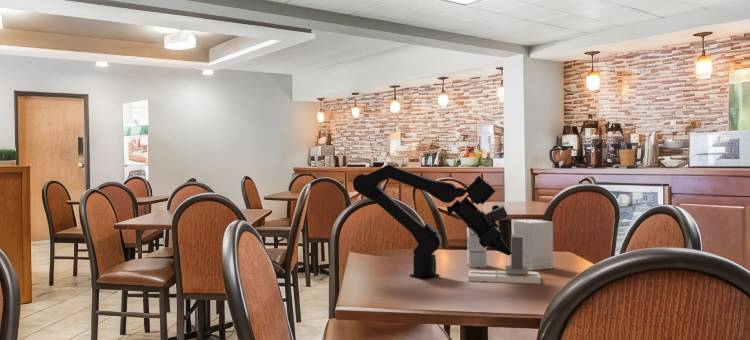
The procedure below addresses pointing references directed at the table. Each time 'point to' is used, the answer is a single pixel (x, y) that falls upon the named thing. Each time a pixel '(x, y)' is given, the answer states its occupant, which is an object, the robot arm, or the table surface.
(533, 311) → the table surface
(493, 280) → the fader base
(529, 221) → the supplement box
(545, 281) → the table surface
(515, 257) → the fader
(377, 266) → the table surface
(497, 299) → the table surface
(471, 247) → the syrup box
